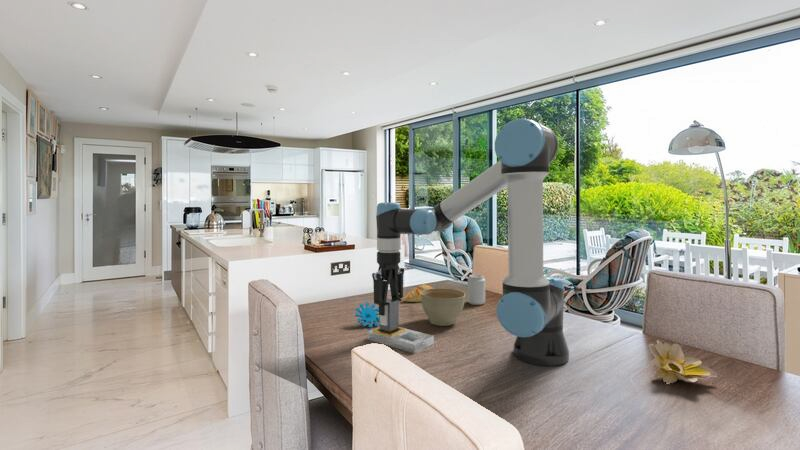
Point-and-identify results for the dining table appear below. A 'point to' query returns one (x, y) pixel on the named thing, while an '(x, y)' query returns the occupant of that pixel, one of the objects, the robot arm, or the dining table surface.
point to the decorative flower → (677, 364)
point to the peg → (391, 317)
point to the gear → (368, 315)
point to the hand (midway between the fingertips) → (389, 322)
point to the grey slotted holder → (402, 339)
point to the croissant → (416, 293)
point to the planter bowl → (442, 305)
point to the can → (476, 289)
